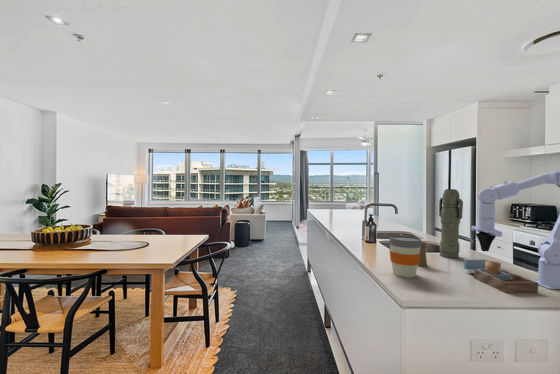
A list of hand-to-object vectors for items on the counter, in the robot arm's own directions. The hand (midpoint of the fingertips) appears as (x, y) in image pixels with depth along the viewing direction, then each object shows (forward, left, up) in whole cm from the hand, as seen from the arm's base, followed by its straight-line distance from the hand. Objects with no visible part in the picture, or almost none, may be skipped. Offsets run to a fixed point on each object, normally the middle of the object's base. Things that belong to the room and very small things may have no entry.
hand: (485, 250), depth 124 cm
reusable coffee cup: (+32, -3, -11) cm, 34 cm away
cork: (+18, -17, -11) cm, 27 cm away
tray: (0, +1, -9) cm, 9 cm away
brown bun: (0, +5, -8) cm, 10 cm away
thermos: (-6, -33, -11) cm, 35 cm away
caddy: (0, +10, -11) cm, 15 cm away
